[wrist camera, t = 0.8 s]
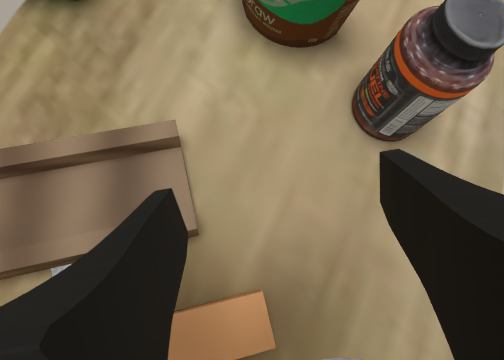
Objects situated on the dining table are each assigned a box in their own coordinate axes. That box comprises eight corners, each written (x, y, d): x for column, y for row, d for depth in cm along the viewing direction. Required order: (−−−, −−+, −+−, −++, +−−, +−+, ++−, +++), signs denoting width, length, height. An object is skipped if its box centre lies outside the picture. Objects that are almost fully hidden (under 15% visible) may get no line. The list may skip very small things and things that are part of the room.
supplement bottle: (342, 81, 31) (415, -31, 20) (407, 76, 32) (511, -33, 21) (358, 146, 29) (446, 64, 18) (426, 140, 30) (548, 58, 19)
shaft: (255, 290, 25) (262, 291, 22) (267, 340, 24) (276, 348, 21) (-1, 356, 22) (-35, 367, 19) (3, 414, 21) (-32, 437, 18)
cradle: (178, 137, 28) (175, 119, 25) (198, 234, 26) (197, 228, 23) (-123, 189, 24) (-168, 176, 21) (-125, 307, 22) (-175, 310, 19)
